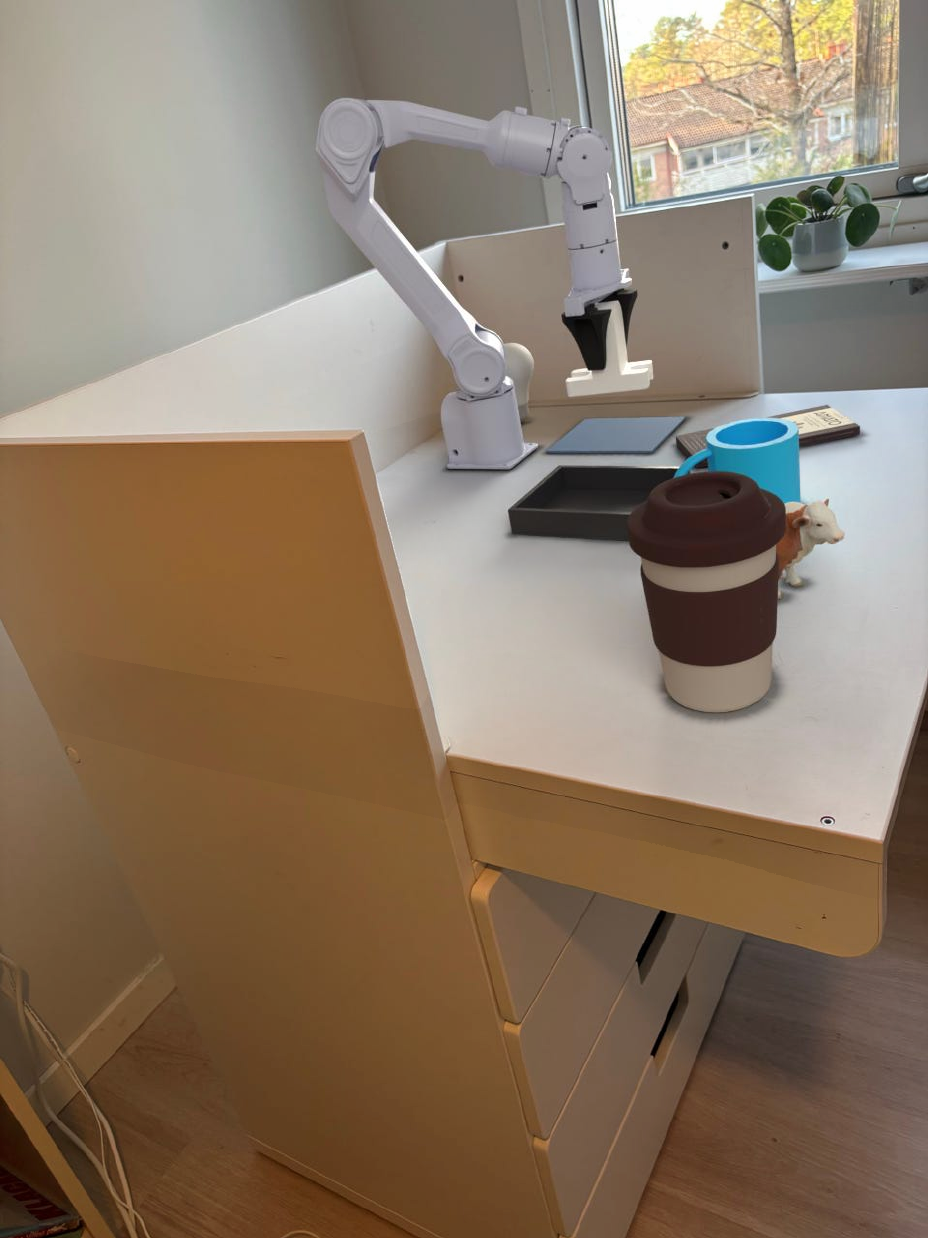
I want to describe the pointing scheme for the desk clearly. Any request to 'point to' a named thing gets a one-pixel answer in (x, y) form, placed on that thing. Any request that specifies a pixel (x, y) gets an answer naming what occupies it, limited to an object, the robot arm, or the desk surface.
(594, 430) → the cloth
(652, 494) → the coffee cup
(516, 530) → the tray
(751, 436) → the mug
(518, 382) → the lightbulb
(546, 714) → the desk surface
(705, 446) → the chocolate bar
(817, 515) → the bull figurine
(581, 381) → the cable organizer
